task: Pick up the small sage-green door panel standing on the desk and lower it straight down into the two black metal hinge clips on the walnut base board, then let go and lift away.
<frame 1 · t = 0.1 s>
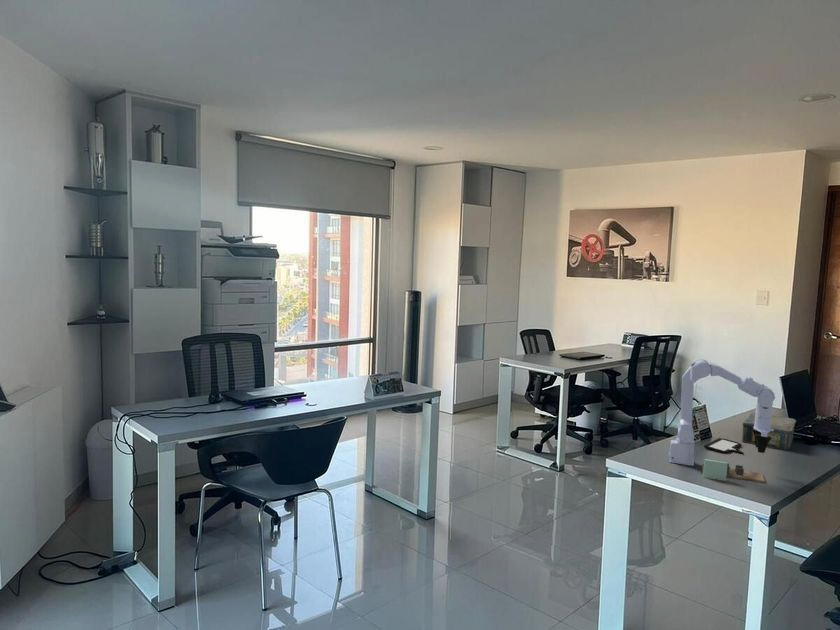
hand: (759, 450, 244), 10 cm above the table, tool pointing down, fingers open, 7 cm apart
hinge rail: (731, 474, 243), on the table
metal box: (767, 440, 301), on the table
door panel: (714, 478, 237), on the table
decorative sign: (728, 450, 280), on the table
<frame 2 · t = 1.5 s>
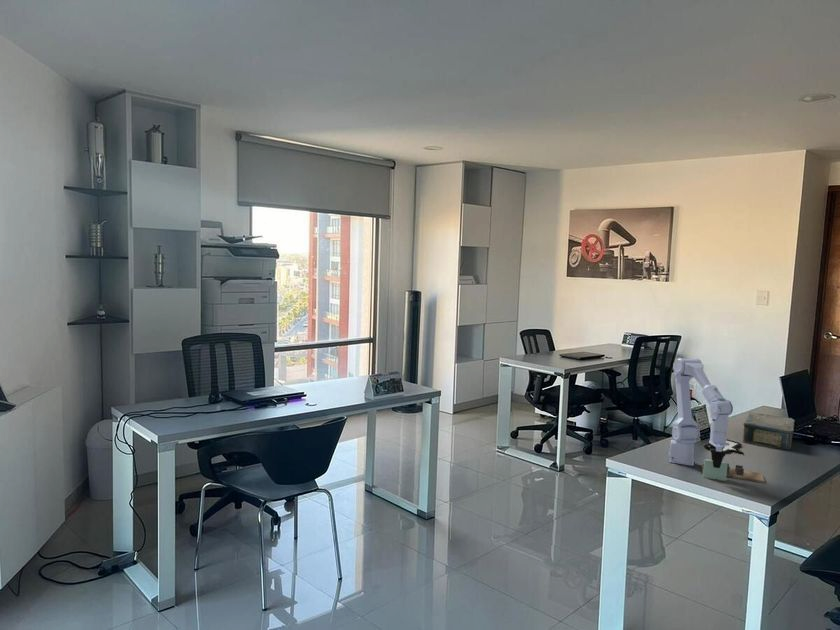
hand: (715, 464, 236), 5 cm above the table, tool pointing down, fingers open, 7 cm apart
nothing on the table moved.
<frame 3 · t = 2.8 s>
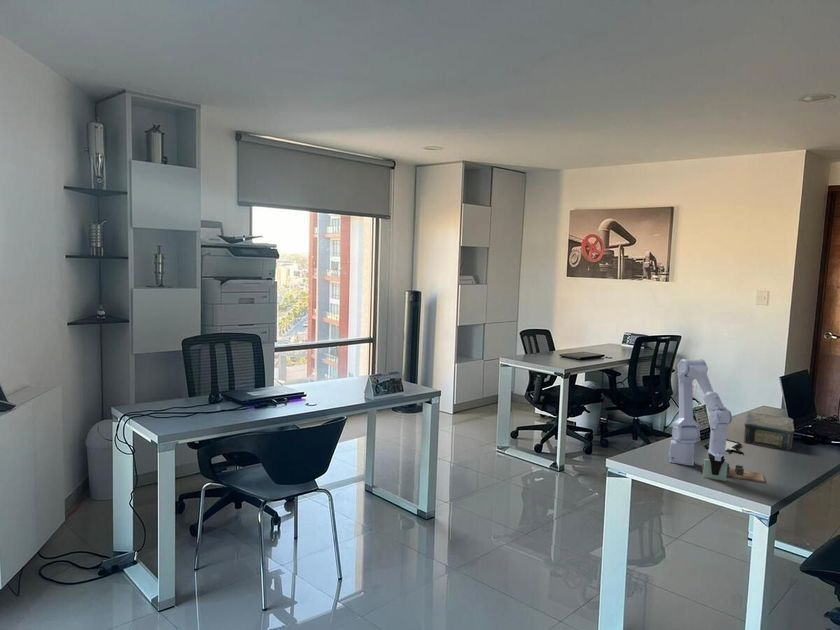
hand: (714, 473, 237), 2 cm above the table, tool pointing down, fingers closed on door panel, 2 cm apart
door panel: (714, 478, 237), on the table, touching gripper
everything else where it was.
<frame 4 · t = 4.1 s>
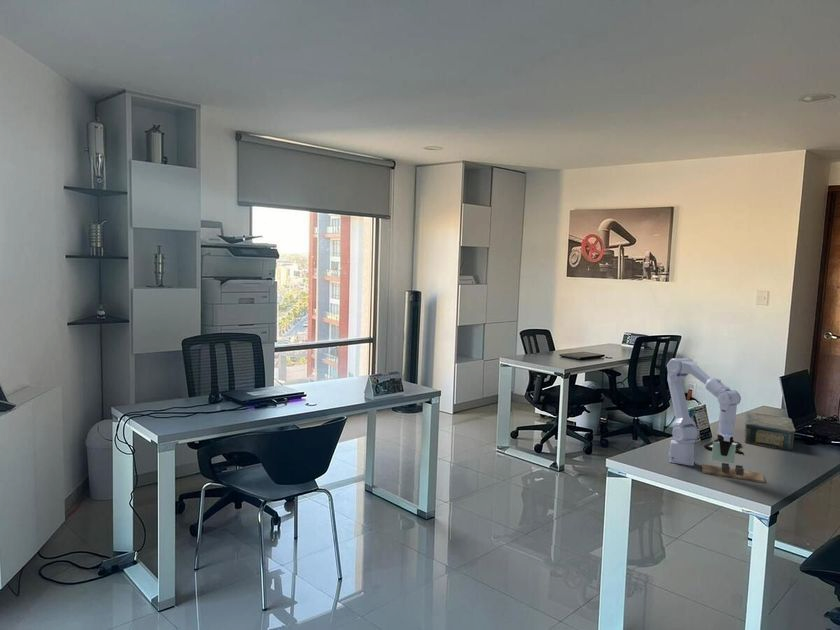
hand: (723, 454, 239), 9 cm above the table, tool pointing down, fingers closed on door panel
door panel: (722, 461, 239), point 6 cm above the table, touching gripper
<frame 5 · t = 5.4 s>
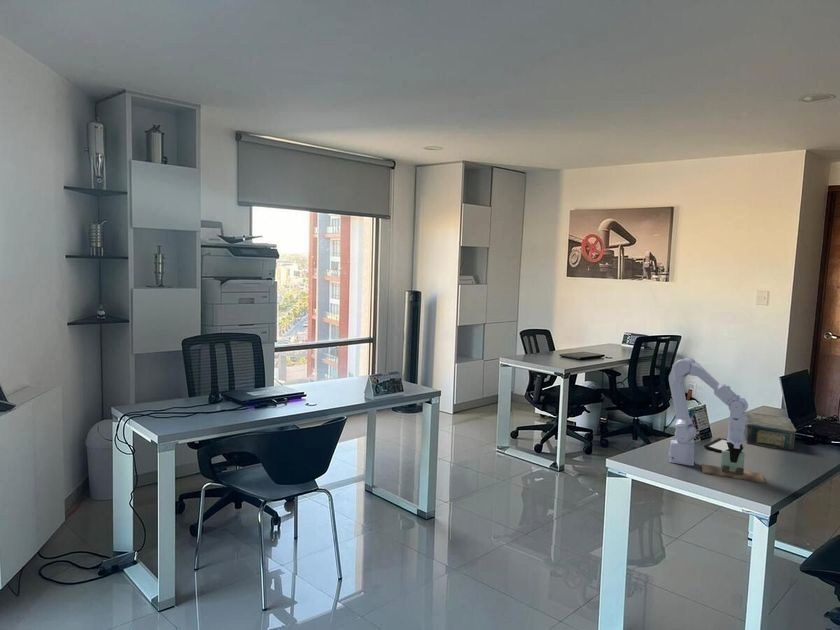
hand: (733, 461, 243), 5 cm above the table, tool pointing down, fingers closed on door panel, 2 cm apart
door panel: (732, 469, 243), point 2 cm above the table, touching gripper
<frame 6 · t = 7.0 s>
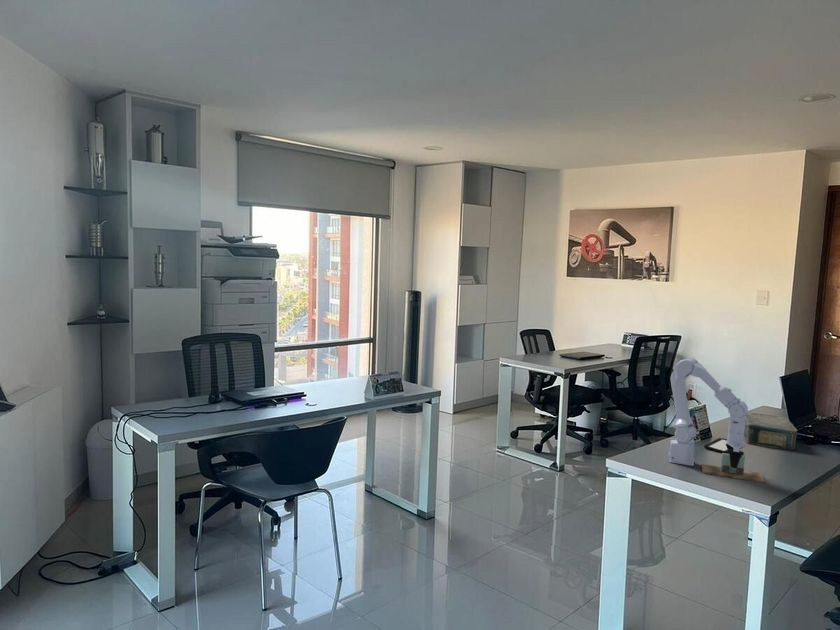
hand: (732, 464, 243), 4 cm above the table, tool pointing down, fingers open, 7 cm apart
door panel: (731, 472, 243), point 1 cm above the table, touching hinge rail
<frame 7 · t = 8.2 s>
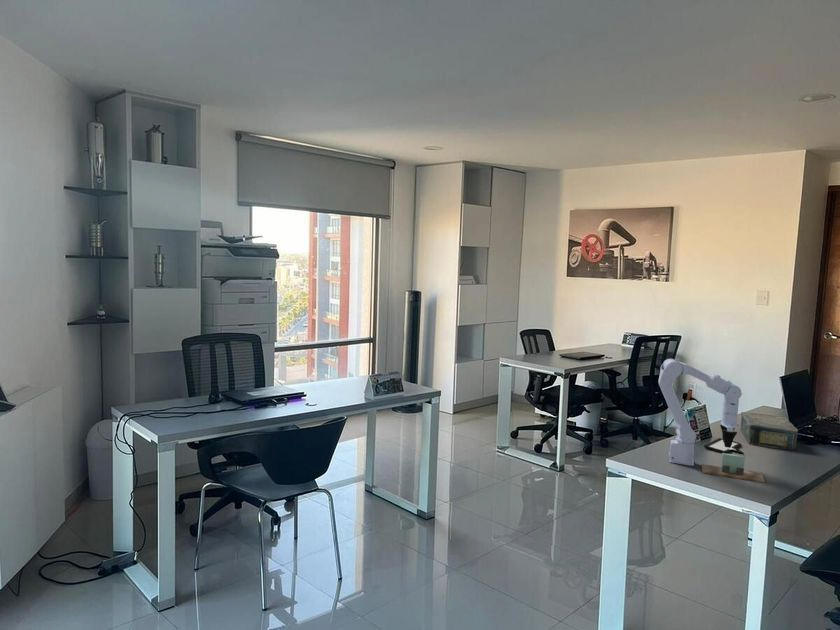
hand: (726, 444, 252), 9 cm above the table, tool pointing down, fingers open, 7 cm apart
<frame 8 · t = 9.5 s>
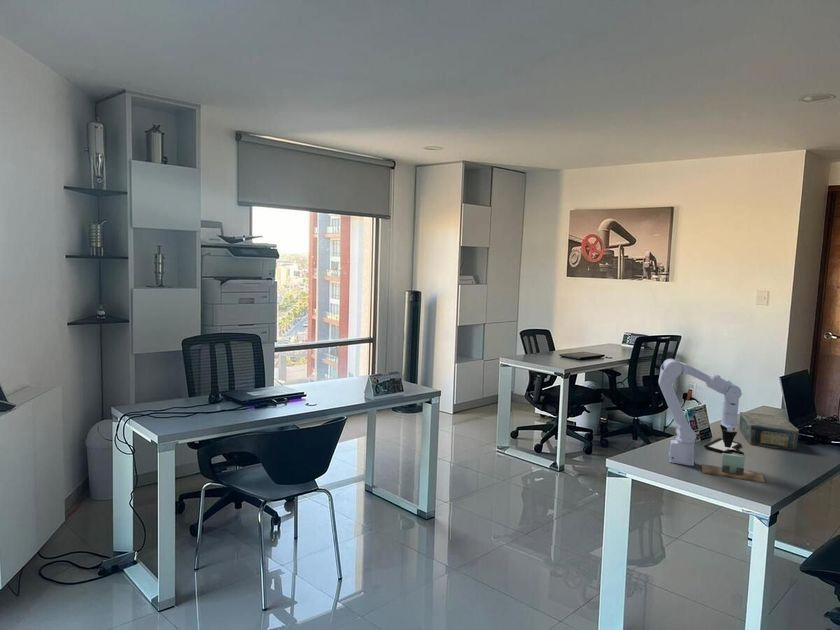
hand: (726, 444, 252), 9 cm above the table, tool pointing down, fingers open, 7 cm apart
at the end: door panel 0.1 cm off-centre on the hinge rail, point 0.8 cm above the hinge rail's base; door panel tilted 0°; the gripper is holding nothing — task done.
